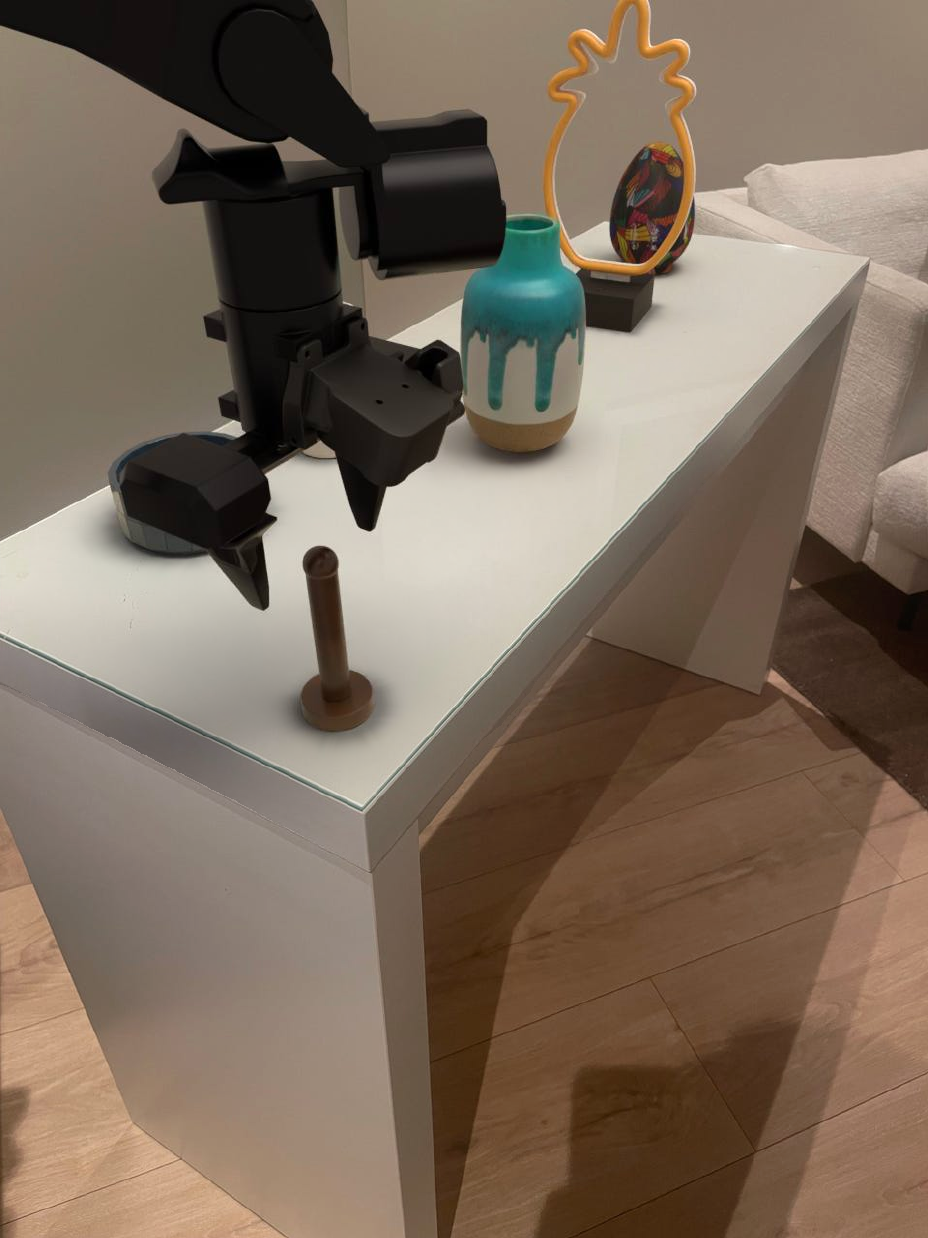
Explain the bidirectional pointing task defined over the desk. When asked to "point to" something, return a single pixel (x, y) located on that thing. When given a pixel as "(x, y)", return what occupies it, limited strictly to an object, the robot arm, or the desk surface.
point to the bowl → (141, 531)
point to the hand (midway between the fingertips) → (316, 565)
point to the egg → (650, 208)
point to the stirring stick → (331, 652)
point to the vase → (523, 340)
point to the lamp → (623, 287)
